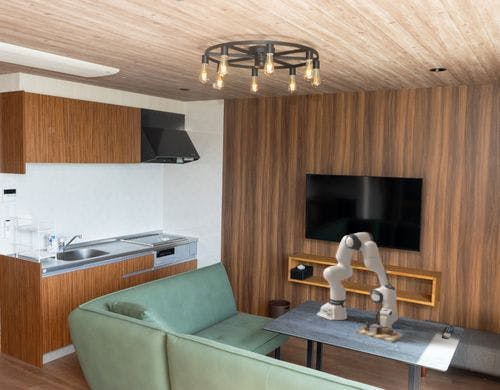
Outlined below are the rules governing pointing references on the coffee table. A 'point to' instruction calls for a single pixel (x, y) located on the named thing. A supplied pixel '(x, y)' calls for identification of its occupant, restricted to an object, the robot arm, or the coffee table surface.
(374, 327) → the keeper
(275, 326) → the coffee table surface
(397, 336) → the base board
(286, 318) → the coffee table surface
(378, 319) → the alarm clock
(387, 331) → the link
